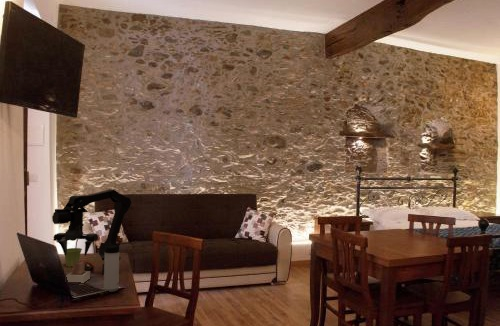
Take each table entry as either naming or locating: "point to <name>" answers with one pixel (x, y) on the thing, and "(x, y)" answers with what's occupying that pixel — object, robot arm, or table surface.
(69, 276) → the socket block
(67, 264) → the plant pot
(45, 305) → the table surface
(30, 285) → the table surface
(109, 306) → the table surface
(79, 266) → the peg
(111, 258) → the travel mug
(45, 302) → the table surface
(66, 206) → the robot arm
